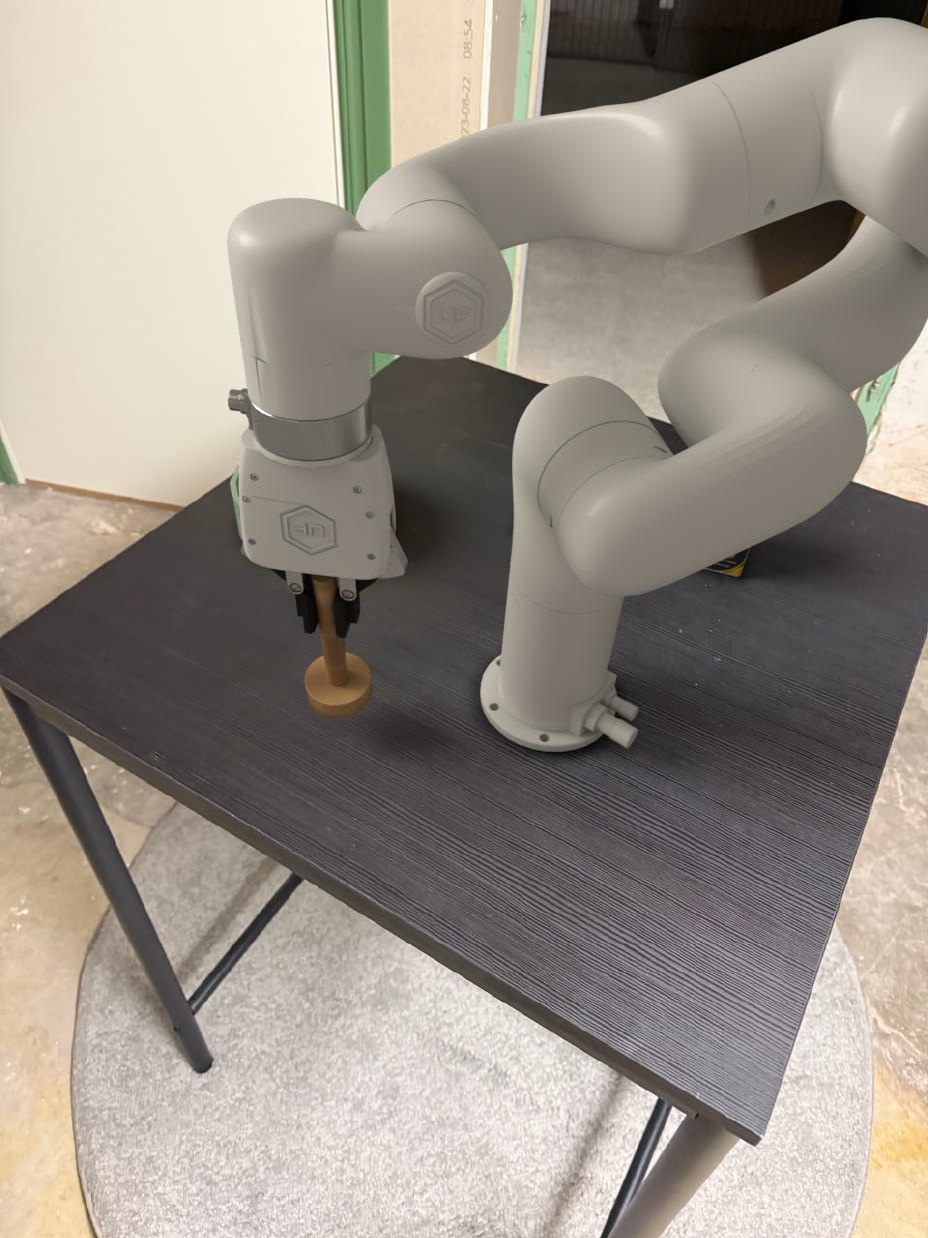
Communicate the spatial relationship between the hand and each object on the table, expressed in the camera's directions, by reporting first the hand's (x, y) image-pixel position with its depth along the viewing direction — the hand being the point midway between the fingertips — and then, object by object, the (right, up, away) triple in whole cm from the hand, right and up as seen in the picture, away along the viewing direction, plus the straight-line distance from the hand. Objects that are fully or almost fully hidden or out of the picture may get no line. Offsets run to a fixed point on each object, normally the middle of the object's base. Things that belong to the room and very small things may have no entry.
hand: (329, 622), depth 67 cm
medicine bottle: (+38, +8, +30) cm, 49 cm away
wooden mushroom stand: (0, -6, +7) cm, 9 cm away
